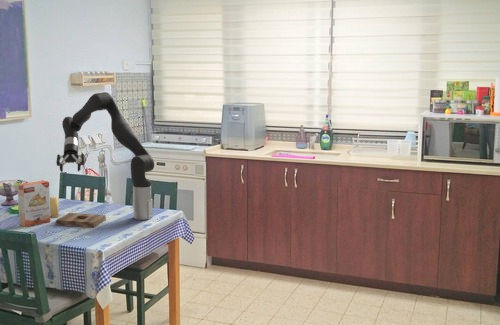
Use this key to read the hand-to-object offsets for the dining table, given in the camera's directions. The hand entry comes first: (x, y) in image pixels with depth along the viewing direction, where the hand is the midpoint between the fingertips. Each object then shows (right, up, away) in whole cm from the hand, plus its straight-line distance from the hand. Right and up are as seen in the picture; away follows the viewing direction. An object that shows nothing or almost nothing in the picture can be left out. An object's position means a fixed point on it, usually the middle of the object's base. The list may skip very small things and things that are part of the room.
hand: (70, 170), depth 296 cm
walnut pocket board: (+11, -26, -17) cm, 33 cm away
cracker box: (-11, -26, -20) cm, 35 cm away
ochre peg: (-6, -24, -7) cm, 26 cm away
